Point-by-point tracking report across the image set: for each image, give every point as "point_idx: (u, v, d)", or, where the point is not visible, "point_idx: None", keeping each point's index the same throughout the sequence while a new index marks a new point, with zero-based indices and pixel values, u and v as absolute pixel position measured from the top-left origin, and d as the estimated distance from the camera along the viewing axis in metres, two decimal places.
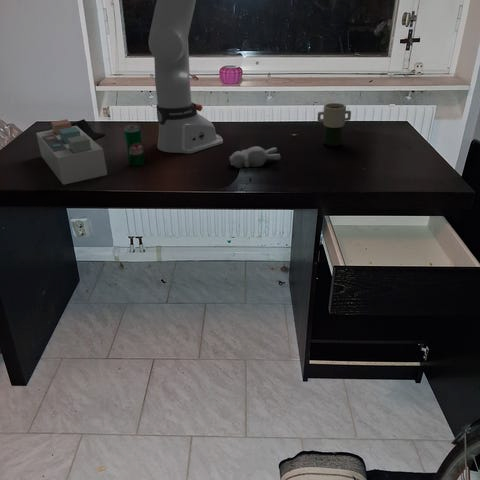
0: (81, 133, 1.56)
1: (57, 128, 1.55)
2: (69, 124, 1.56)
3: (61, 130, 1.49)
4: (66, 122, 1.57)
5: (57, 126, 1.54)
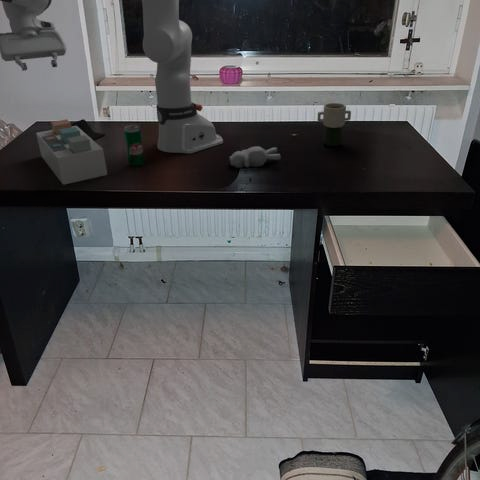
0: (81, 133, 1.56)
1: (57, 128, 1.55)
2: (69, 124, 1.56)
3: (61, 130, 1.49)
4: (66, 122, 1.57)
5: (57, 126, 1.54)
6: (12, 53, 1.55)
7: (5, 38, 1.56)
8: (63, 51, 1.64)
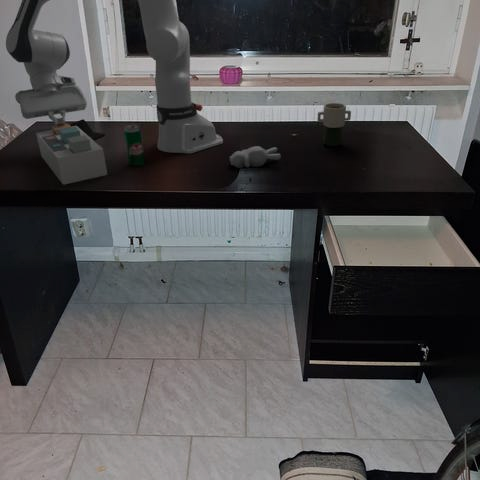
0: (81, 133, 1.56)
1: (58, 132, 1.55)
2: None
3: (61, 130, 1.49)
4: (67, 126, 1.57)
5: (58, 130, 1.55)
6: (33, 111, 1.53)
7: (25, 96, 1.54)
8: (84, 106, 1.61)
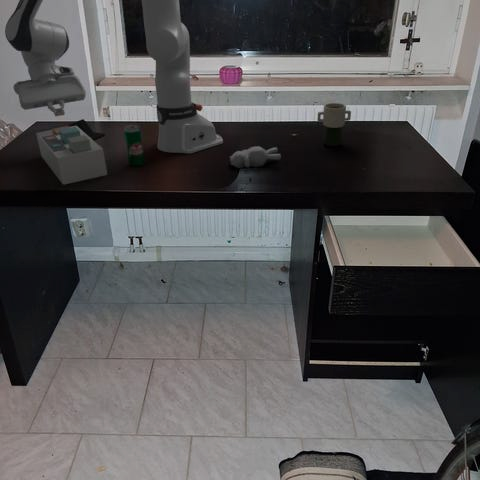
0: (81, 133, 1.56)
1: None
2: None
3: (61, 130, 1.49)
4: None
5: (58, 133, 1.55)
6: (31, 102, 1.52)
7: (24, 86, 1.53)
8: (83, 96, 1.60)
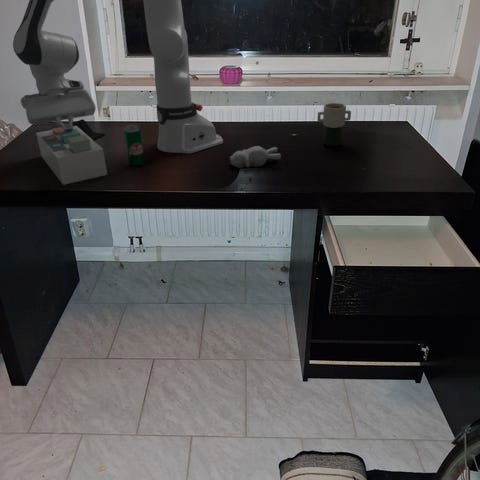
0: (81, 133, 1.56)
1: None
2: None
3: (61, 132, 1.50)
4: None
5: (58, 133, 1.55)
6: (39, 117, 1.46)
7: (32, 100, 1.46)
8: (92, 111, 1.54)
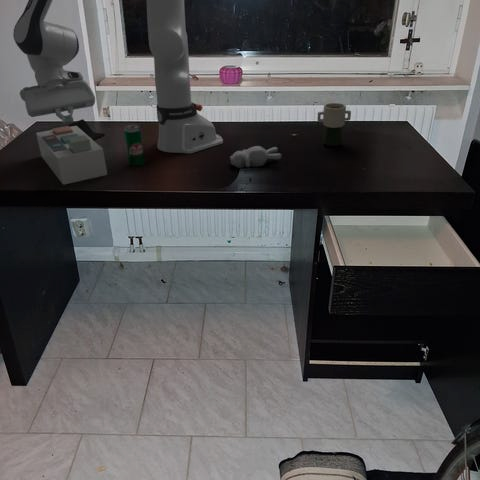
0: (81, 133, 1.56)
1: None
2: (70, 131, 1.57)
3: (62, 137, 1.51)
4: (67, 129, 1.58)
5: (58, 133, 1.55)
6: (39, 109, 1.45)
7: (31, 93, 1.45)
8: (92, 102, 1.52)
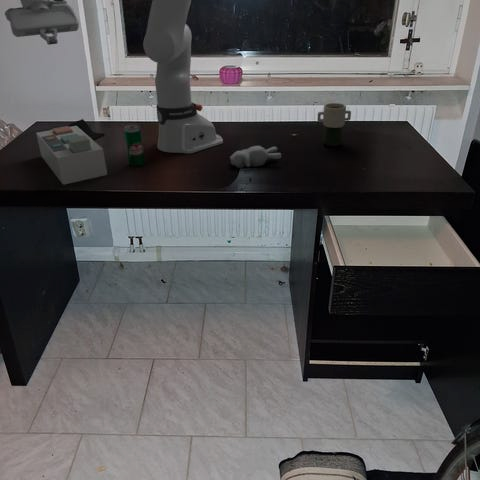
0: (81, 133, 1.56)
1: None
2: (70, 131, 1.57)
3: (62, 137, 1.51)
4: (67, 129, 1.58)
5: (58, 133, 1.55)
6: (23, 28, 1.49)
7: (15, 12, 1.49)
8: (76, 26, 1.57)
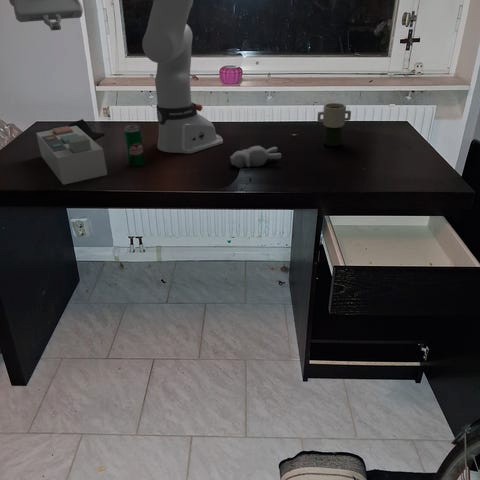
0: (81, 133, 1.56)
1: None
2: (70, 131, 1.57)
3: (62, 137, 1.51)
4: (67, 129, 1.58)
5: (58, 133, 1.55)
6: (27, 13, 1.49)
7: None
8: (79, 12, 1.57)
